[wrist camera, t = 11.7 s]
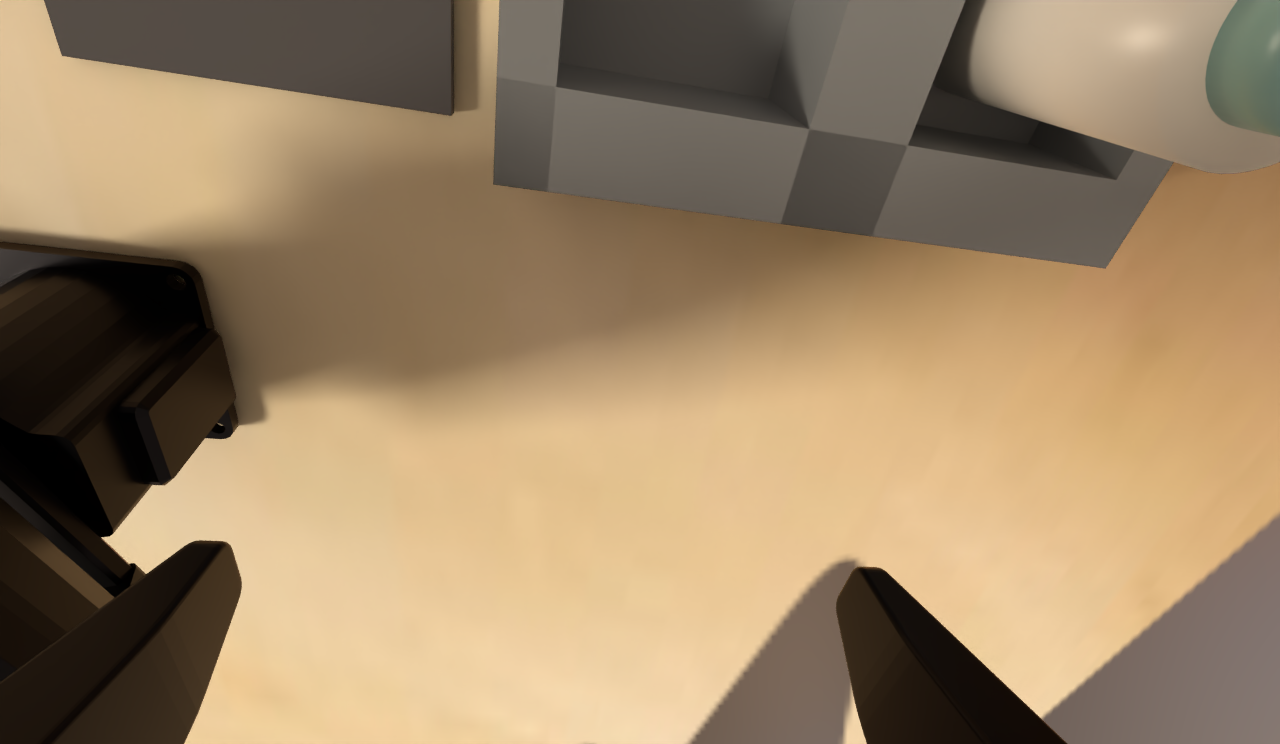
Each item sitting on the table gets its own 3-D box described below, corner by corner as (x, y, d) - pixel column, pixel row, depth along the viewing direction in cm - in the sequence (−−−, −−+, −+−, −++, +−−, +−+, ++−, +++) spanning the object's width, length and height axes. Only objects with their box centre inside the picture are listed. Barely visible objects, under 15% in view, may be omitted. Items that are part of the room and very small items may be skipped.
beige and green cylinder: (888, 79, 16) (1152, 166, 9) (958, -106, 14) (1385, -205, 7) (1018, 108, 17) (1368, 212, 9) (1103, -64, 15) (1639, -110, 7)
